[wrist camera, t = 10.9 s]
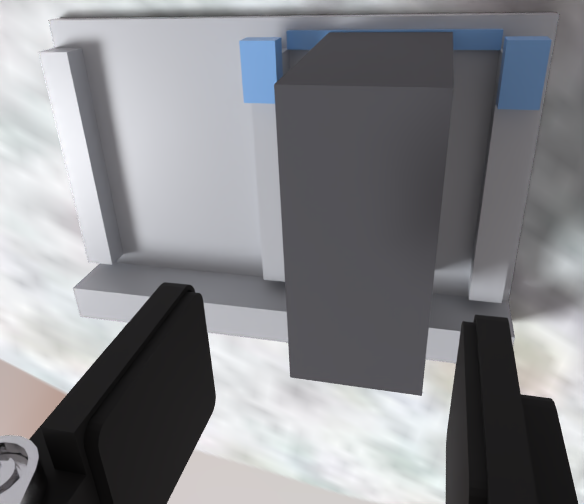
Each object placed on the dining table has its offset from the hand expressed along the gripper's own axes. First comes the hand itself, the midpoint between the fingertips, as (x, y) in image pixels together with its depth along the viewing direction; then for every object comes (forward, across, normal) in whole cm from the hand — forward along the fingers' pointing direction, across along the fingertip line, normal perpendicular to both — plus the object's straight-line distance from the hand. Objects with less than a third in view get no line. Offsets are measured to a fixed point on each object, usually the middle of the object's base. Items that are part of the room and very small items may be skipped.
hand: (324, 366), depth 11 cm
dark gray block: (+12, 0, 0) cm, 12 cm away
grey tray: (+12, +4, +1) cm, 13 cm away
